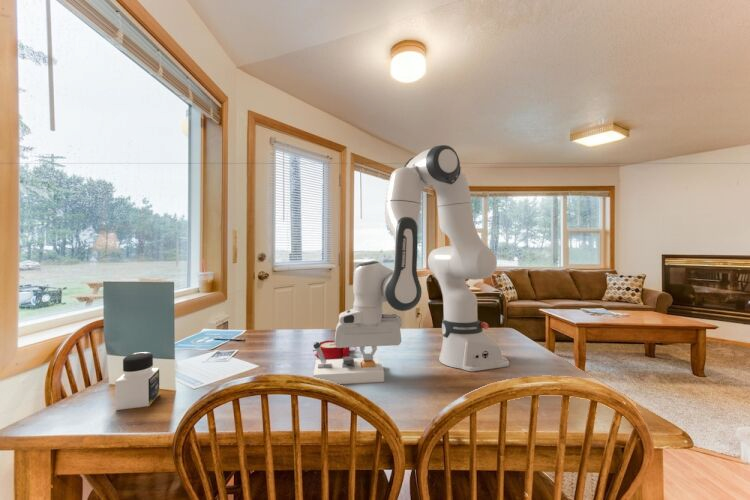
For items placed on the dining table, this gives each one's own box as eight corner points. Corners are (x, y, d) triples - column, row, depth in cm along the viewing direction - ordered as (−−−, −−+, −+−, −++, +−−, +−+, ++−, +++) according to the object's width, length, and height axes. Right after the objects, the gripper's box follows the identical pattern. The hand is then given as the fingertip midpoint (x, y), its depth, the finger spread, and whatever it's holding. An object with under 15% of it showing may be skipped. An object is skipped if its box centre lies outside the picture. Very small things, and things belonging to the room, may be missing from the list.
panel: (378, 366, 104) (378, 356, 104) (384, 381, 92) (384, 369, 92) (316, 369, 102) (315, 358, 102) (313, 385, 90) (313, 373, 90)
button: (373, 370, 100) (373, 358, 100) (374, 374, 96) (374, 362, 96) (361, 370, 100) (361, 359, 100) (362, 375, 96) (362, 363, 96)
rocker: (352, 359, 101) (352, 356, 101) (353, 363, 94) (353, 360, 94) (343, 360, 100) (343, 356, 101) (343, 364, 94) (343, 360, 94)
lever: (327, 360, 97) (318, 340, 97) (327, 362, 95) (318, 342, 95) (321, 363, 97) (312, 343, 97) (320, 365, 95) (312, 345, 95)
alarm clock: (314, 341, 121) (353, 331, 122) (318, 357, 121) (356, 347, 123) (311, 350, 111) (353, 339, 112) (315, 367, 111) (358, 356, 112)
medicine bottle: (149, 406, 79) (149, 357, 79) (114, 411, 77) (114, 360, 77) (159, 394, 85) (159, 348, 85) (128, 397, 83) (127, 351, 83)
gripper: (399, 311, 102) (399, 355, 102) (334, 313, 100) (334, 358, 100) (403, 316, 96) (403, 362, 96) (334, 318, 94) (334, 365, 94)
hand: (368, 360), depth 98 cm, fingers closed
